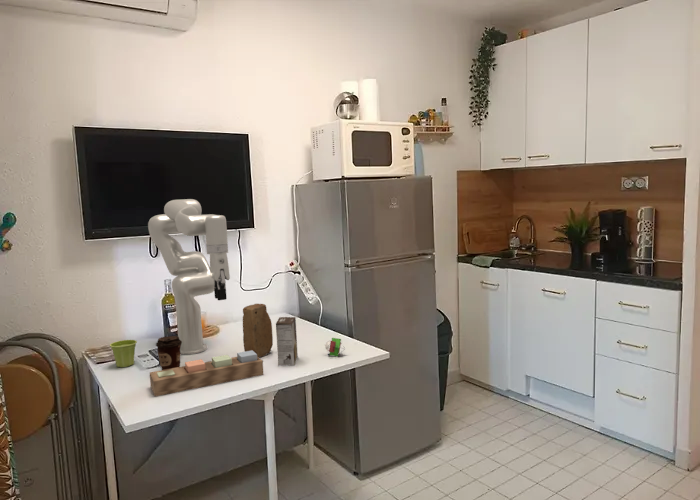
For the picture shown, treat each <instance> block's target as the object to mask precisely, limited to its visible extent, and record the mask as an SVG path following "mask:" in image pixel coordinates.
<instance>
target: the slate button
mask: <svg viewBox="0 0 700 500" xmlns="http://www.w3.org/2000/svg"><path fill="white" fill-rule="evenodd" d="M236 357H237V360H238V361H239V362H240V363H245V362H250V361H256V360H257V354H256V353H255V352H254V351H253V350H251V351H240V352H236Z"/></svg>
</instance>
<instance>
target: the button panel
mask: <svg viewBox="0 0 700 500" xmlns="http://www.w3.org/2000/svg"><path fill="white" fill-rule="evenodd" d="M230 358H231V359H232V365H229V366H224V367H218V368H214V367H213V365H212V360H211V361H206V362H204V361H203V362H204V363H205V368H206V370H202V371H197V372H191V373H187V372H186V370H185V365H183V366H182V365H181V366H180V367H177V368H171V369H166V370H162V369H161V370H155V371H150V372H149V381H150V388H151V391H152V393H153V396H154V397H159V396H164V395H169V394H175V393H180V392H184V391H190V390H194V389H199V388H203V387H204V388H205V387H209V386H214V385H219V384H223V383H224V384H225V383H230V382H234V381H239V380H244V379H250V378H254V377H259V376H264V363H263V362H264V361H263V360H262V359H261V357H258V356H257V360H256V361H250V362H245V363H240V362H239V361H238V360H237V356H232V357H230Z"/></svg>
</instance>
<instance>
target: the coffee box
mask: <svg viewBox="0 0 700 500" xmlns="http://www.w3.org/2000/svg"><path fill="white" fill-rule="evenodd" d="M296 319H297V317H295V316H282V317H281V316H280V317H278V319H277V321H276V323H275V328H276V329H275V330H276V348H277V351H276V353H277V365H278V366H280V367H281V366H283V367H284V366H286V365H288V366H295V365H296V363H297V360H298V356H299V355H298V341H297V339H298V338H297V322H296Z"/></svg>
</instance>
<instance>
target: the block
mask: <svg viewBox="0 0 700 500" xmlns="http://www.w3.org/2000/svg"><path fill="white" fill-rule="evenodd" d="M267 311H268V309H267V305H266V304H264V303H254V304H250V305H246V306H245V307H243V309H242V314H243V316H242V334H243V336H242V338H243V339H242V341H243V350H244V351H243V352H245V351H251V350H253V351H254V352H255V353H256V354H257V356H258V357H259V358H262V357H265V356H267V355H269V354H270V353H271V351H272V348H273V343H274V342H273V341H274V340H273V339H274V338H273V324H272V320H271V317H270V315H269V313H268V312H267Z"/></svg>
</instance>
